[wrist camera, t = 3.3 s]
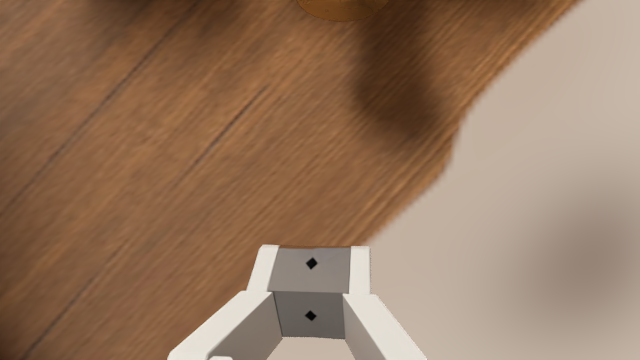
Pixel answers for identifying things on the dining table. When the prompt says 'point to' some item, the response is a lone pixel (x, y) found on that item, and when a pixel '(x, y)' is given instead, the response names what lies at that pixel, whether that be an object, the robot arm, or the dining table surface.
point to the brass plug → (342, 8)
